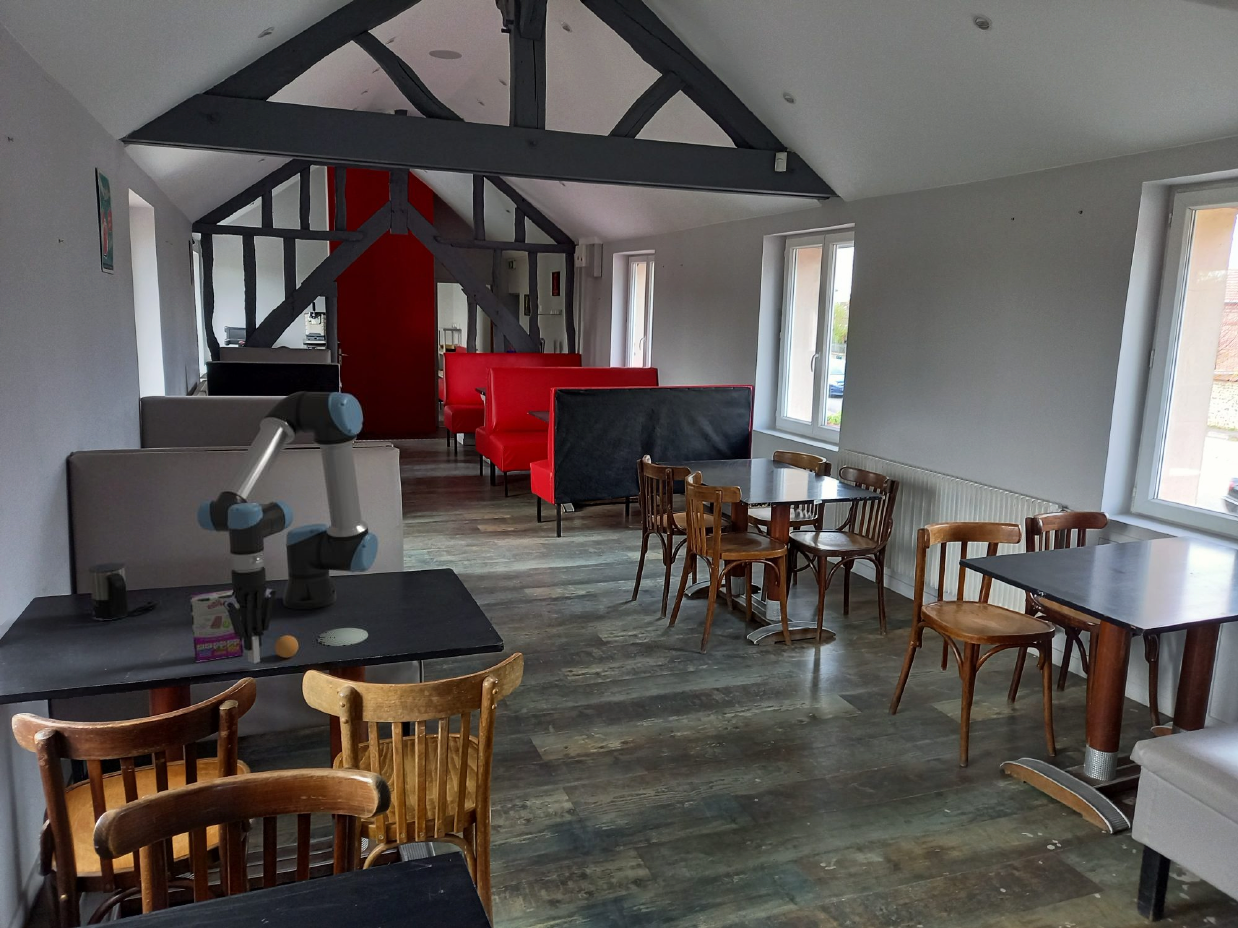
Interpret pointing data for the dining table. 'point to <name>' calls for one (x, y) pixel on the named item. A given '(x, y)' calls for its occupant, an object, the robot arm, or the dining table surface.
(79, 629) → the dining table surface
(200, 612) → the candy bar box
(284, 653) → the ball
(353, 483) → the robot arm
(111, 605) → the milk frother
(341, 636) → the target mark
